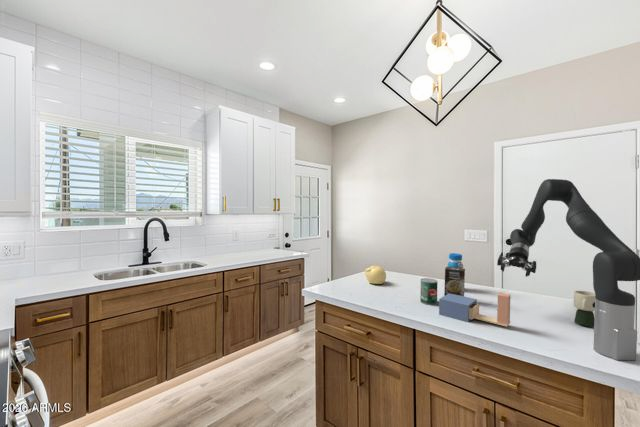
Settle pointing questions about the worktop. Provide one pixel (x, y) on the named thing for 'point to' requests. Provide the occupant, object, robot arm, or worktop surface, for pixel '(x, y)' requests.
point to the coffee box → (454, 281)
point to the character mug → (584, 307)
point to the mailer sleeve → (456, 306)
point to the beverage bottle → (455, 260)
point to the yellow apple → (375, 275)
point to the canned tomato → (428, 291)
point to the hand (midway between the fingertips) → (514, 272)
